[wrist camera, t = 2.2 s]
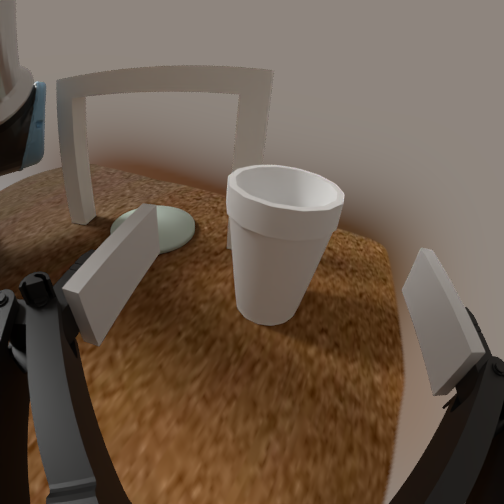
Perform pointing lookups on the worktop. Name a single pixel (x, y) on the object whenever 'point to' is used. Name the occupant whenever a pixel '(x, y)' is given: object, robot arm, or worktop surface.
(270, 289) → the foam cup
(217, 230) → the worktop surface
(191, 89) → the keeper arch
